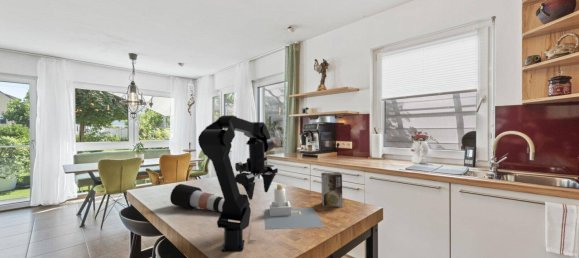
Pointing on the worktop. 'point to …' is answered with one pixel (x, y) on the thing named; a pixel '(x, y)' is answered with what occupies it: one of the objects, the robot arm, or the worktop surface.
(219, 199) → the telephoto camera lens
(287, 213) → the board
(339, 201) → the coffee box
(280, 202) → the white cylindrical bottle
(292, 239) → the worktop surface
